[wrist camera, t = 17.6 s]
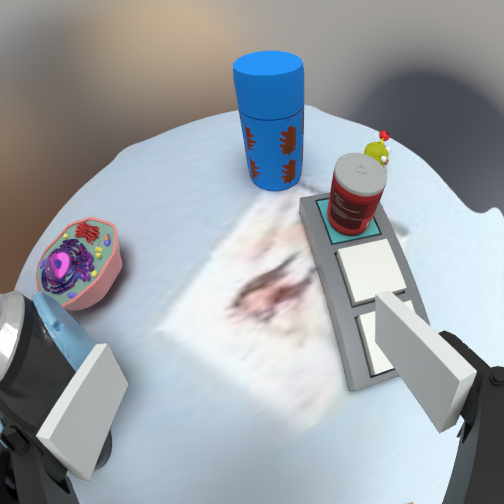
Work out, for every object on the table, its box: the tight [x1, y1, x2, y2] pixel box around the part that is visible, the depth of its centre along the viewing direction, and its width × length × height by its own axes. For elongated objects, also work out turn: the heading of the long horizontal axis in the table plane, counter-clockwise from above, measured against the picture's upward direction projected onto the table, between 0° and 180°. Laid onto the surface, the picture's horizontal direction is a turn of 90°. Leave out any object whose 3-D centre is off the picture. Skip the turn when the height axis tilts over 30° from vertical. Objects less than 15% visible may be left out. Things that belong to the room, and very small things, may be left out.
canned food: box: [327, 153, 387, 236], centre depth 41 cm, size 8×8×11 cm
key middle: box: [336, 239, 406, 308], centre depth 41 cm, size 8×8×4 cm
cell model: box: [36, 217, 123, 311], centre depth 45 cm, size 17×20×11 cm
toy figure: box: [364, 130, 390, 166], centre depth 53 cm, size 18×6×7 cm, turn 147°
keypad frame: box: [299, 193, 431, 391], centre depth 42 cm, size 14×32×4 cm, turn 10°
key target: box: [317, 199, 380, 245], centre depth 47 cm, size 8×8×4 cm
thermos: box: [233, 51, 304, 191], centre depth 46 cm, size 11×11×25 cm
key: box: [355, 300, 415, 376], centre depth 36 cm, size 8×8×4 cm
